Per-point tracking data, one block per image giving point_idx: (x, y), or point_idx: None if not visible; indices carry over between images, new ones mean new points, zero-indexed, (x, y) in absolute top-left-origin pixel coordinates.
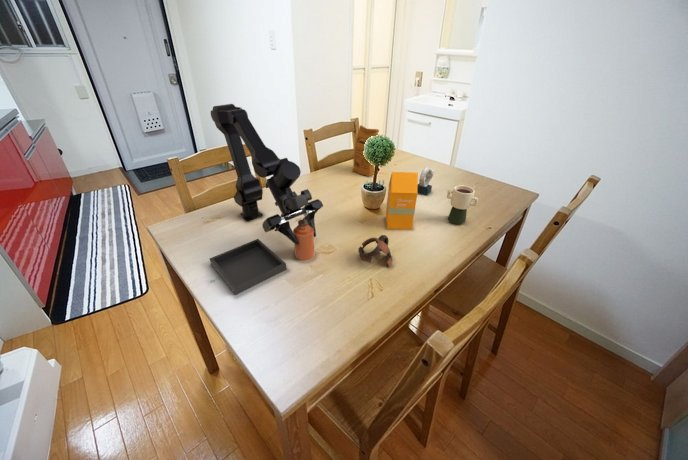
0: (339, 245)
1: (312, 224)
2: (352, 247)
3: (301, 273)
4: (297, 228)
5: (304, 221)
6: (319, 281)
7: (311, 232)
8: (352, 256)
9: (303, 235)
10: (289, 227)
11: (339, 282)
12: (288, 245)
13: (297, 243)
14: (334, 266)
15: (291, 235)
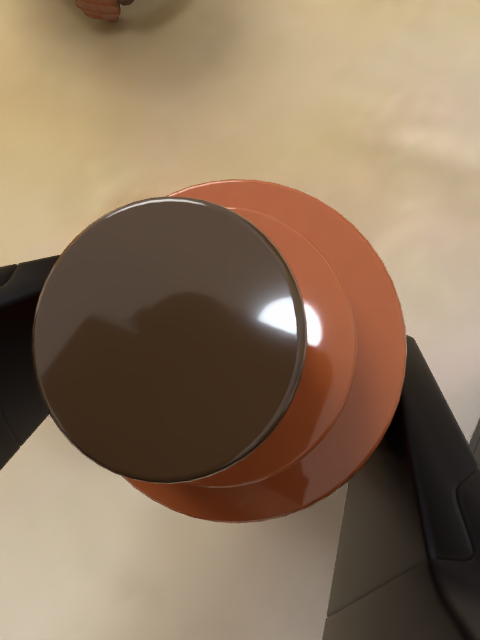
0: (70, 201)
1: (32, 283)
2: (57, 119)
3: (461, 266)
4: (290, 430)
5: (124, 299)
6: (470, 113)
7: (220, 193)
8: (140, 72)
9: (356, 259)
10: (466, 600)
11: (411, 3)
12: (216, 539)
13: (413, 340)
14: (282, 113)
15: (466, 452)
